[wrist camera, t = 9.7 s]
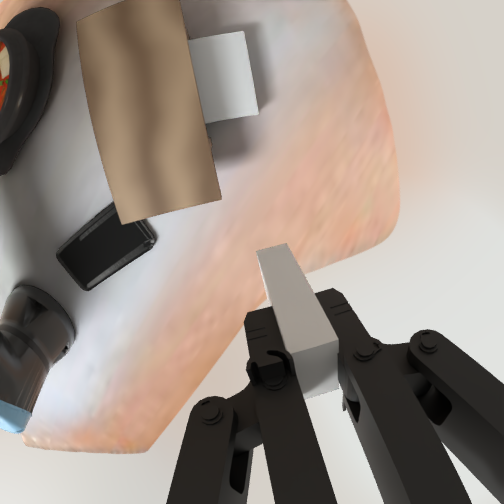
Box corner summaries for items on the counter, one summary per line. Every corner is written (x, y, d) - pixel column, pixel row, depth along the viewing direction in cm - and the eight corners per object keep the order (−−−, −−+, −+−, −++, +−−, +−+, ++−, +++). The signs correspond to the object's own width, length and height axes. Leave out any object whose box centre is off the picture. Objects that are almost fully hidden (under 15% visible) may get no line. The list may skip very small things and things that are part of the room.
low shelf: (136, 207, 33) (121, 224, 28) (96, 33, 22) (76, 22, 17) (221, 185, 33) (221, 199, 28) (182, 4, 22) (176, -16, 17)
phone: (157, 244, 35) (85, 293, 37) (159, 241, 36) (88, 289, 38) (121, 195, 31) (52, 253, 34) (124, 193, 32) (56, 250, 35)
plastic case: (139, 140, 30) (132, 142, 27) (125, 65, 25) (117, 61, 23) (255, 114, 30) (258, 114, 28) (241, 38, 26) (243, 30, 23)
